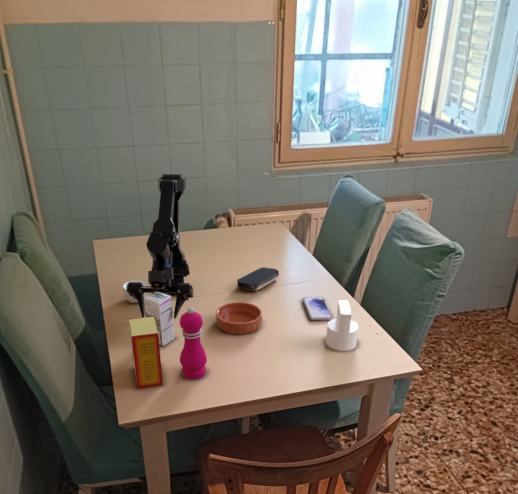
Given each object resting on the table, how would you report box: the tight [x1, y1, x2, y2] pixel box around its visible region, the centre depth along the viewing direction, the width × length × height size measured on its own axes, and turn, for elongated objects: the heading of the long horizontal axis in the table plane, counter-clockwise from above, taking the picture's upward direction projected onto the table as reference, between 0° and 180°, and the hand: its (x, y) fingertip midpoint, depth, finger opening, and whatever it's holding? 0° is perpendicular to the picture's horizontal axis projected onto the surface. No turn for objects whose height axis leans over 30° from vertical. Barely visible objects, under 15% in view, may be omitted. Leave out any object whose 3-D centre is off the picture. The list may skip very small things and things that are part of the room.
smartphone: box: [302, 296, 333, 321], centre depth 186 cm, size 7×1×15 cm
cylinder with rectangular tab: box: [325, 299, 359, 352], centre depth 166 cm, size 9×9×12 cm
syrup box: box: [144, 291, 176, 347], centre depth 165 cm, size 6×6×14 cm
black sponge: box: [236, 266, 280, 292], centre depth 202 cm, size 16×8×4 cm, turn 143°
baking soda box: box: [128, 316, 164, 389], centre depth 148 cm, size 10×6×16 cm
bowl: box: [215, 301, 263, 335], centre depth 177 cm, size 14×14×4 cm
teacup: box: [122, 280, 148, 304], centre depth 188 cm, size 10×8×5 cm
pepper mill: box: [179, 306, 208, 380], centre depth 149 cm, size 7×7×20 cm
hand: (158, 318), depth 164 cm, fingers open, 9 cm apart
